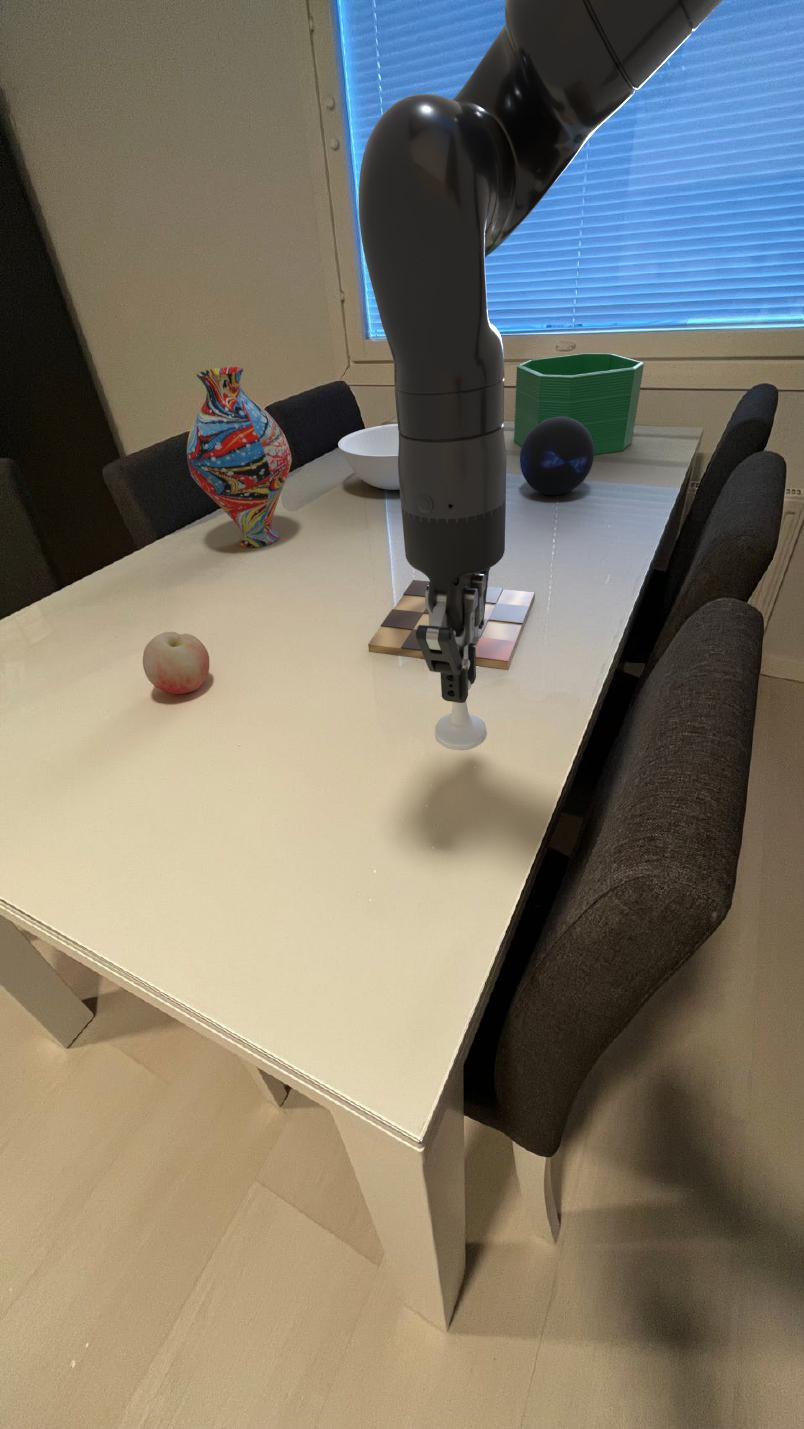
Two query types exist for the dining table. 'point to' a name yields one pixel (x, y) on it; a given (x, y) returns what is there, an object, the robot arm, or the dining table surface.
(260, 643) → the dining table surface
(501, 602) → the game board
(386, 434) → the bowl
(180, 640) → the fruit
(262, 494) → the vase
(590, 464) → the decorative sphere
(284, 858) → the dining table surface
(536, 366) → the planter
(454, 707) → the chess piece
